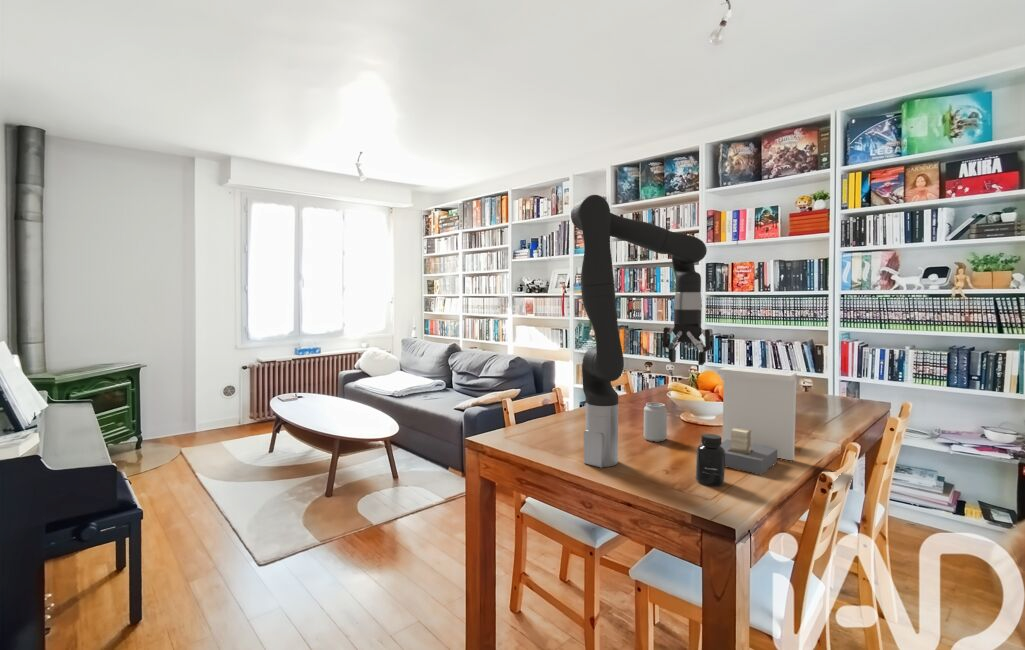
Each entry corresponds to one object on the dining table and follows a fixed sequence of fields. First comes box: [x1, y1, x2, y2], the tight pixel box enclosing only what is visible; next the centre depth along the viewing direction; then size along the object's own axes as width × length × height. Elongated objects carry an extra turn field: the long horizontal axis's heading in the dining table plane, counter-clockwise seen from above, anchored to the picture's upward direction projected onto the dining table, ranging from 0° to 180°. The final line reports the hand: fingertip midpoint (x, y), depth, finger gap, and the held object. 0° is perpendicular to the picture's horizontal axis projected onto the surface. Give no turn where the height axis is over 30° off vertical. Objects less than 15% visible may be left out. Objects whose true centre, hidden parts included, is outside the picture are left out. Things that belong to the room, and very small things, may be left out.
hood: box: [717, 366, 798, 461], centre depth 149 cm, size 6×20×26 cm, turn 47°
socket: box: [720, 439, 778, 475], centre depth 143 cm, size 14×14×4 cm
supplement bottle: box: [695, 433, 726, 487], centre depth 128 cm, size 7×7×12 cm
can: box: [643, 402, 668, 443], centre depth 167 cm, size 8×8×12 cm
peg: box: [731, 427, 751, 455], centre depth 141 cm, size 4×4×10 cm
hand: (686, 363), depth 146 cm, fingers open, 8 cm apart
